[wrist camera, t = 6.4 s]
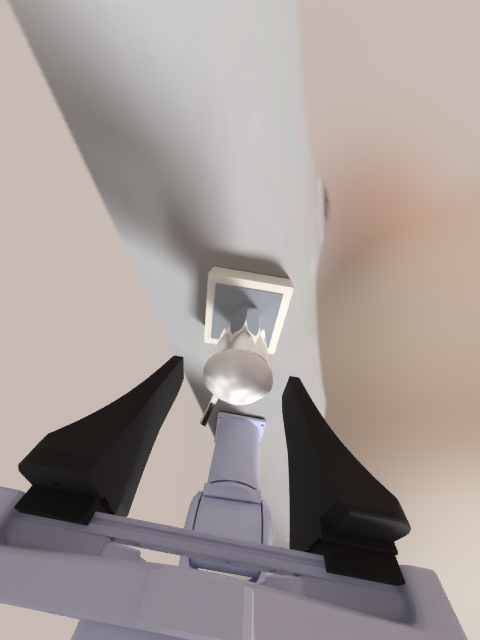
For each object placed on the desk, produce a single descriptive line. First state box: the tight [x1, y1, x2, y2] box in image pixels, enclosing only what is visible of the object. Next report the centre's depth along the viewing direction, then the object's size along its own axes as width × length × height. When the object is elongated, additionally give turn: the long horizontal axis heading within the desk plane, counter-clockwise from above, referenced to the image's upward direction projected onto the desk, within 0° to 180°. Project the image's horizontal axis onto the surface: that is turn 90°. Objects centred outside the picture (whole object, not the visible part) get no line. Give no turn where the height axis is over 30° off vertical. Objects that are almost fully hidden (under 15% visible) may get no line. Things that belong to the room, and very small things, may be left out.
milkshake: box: [200, 304, 273, 426], centre depth 15 cm, size 4×5×10 cm
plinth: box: [204, 266, 294, 354], centre depth 21 cm, size 8×8×3 cm
